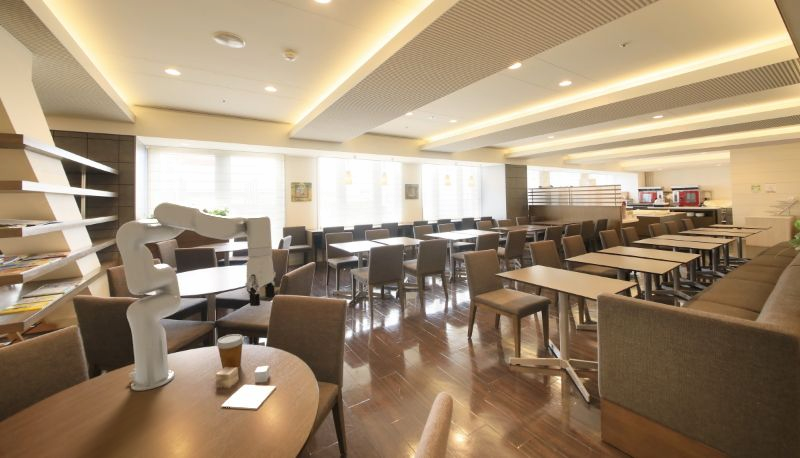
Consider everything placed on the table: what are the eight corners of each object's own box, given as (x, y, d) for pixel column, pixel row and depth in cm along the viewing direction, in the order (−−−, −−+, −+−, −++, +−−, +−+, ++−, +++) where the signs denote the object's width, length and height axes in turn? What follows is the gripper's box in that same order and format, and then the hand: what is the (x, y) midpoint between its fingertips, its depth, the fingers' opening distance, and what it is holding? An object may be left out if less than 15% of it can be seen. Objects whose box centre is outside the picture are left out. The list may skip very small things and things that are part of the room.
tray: (221, 407, 102) (221, 405, 102) (244, 386, 114) (244, 384, 114) (256, 409, 101) (256, 407, 101) (275, 387, 113) (275, 385, 113)
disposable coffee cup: (249, 362, 132) (248, 333, 131) (235, 374, 123) (234, 343, 122) (228, 361, 133) (226, 333, 132) (212, 373, 124) (210, 343, 123)
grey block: (255, 382, 117) (254, 372, 116) (258, 377, 121) (257, 366, 120) (266, 381, 117) (266, 371, 117) (269, 376, 121) (268, 365, 121)
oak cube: (216, 387, 114) (215, 374, 114) (225, 379, 119) (225, 366, 119) (229, 388, 113) (228, 374, 113) (238, 380, 118) (237, 367, 118)
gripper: (263, 248, 119) (265, 294, 120) (234, 256, 101) (237, 309, 103) (282, 248, 118) (284, 294, 119) (256, 256, 101) (259, 309, 102)
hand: (263, 301), depth 111 cm, fingers open, 9 cm apart
